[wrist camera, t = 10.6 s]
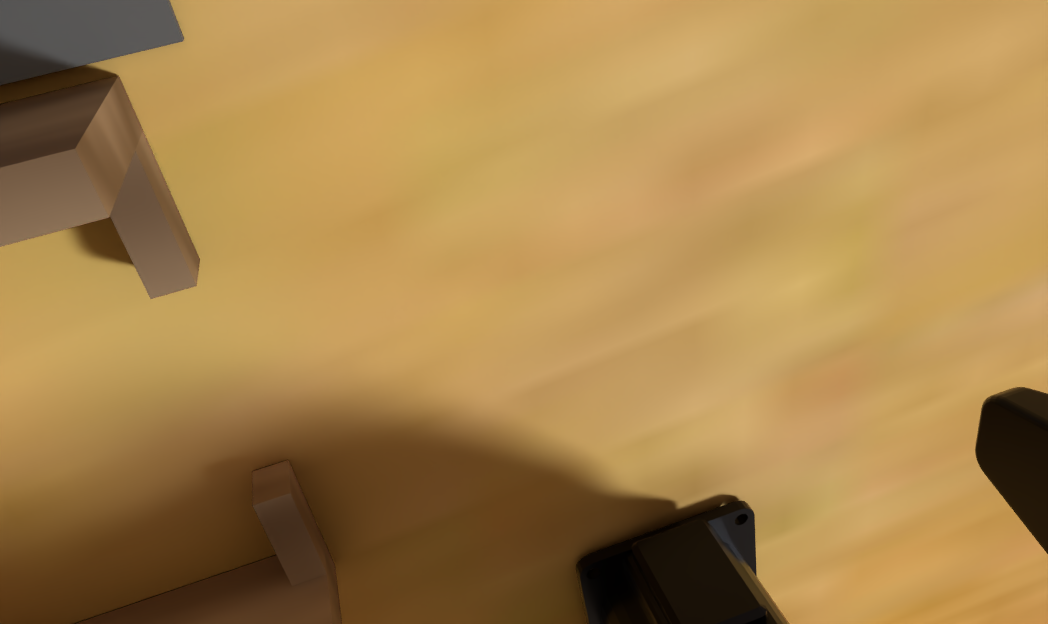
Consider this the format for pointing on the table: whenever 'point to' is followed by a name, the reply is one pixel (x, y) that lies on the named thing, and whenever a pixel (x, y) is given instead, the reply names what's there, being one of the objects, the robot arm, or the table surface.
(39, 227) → the rack
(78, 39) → the mat
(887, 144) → the table surface
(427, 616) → the table surface
